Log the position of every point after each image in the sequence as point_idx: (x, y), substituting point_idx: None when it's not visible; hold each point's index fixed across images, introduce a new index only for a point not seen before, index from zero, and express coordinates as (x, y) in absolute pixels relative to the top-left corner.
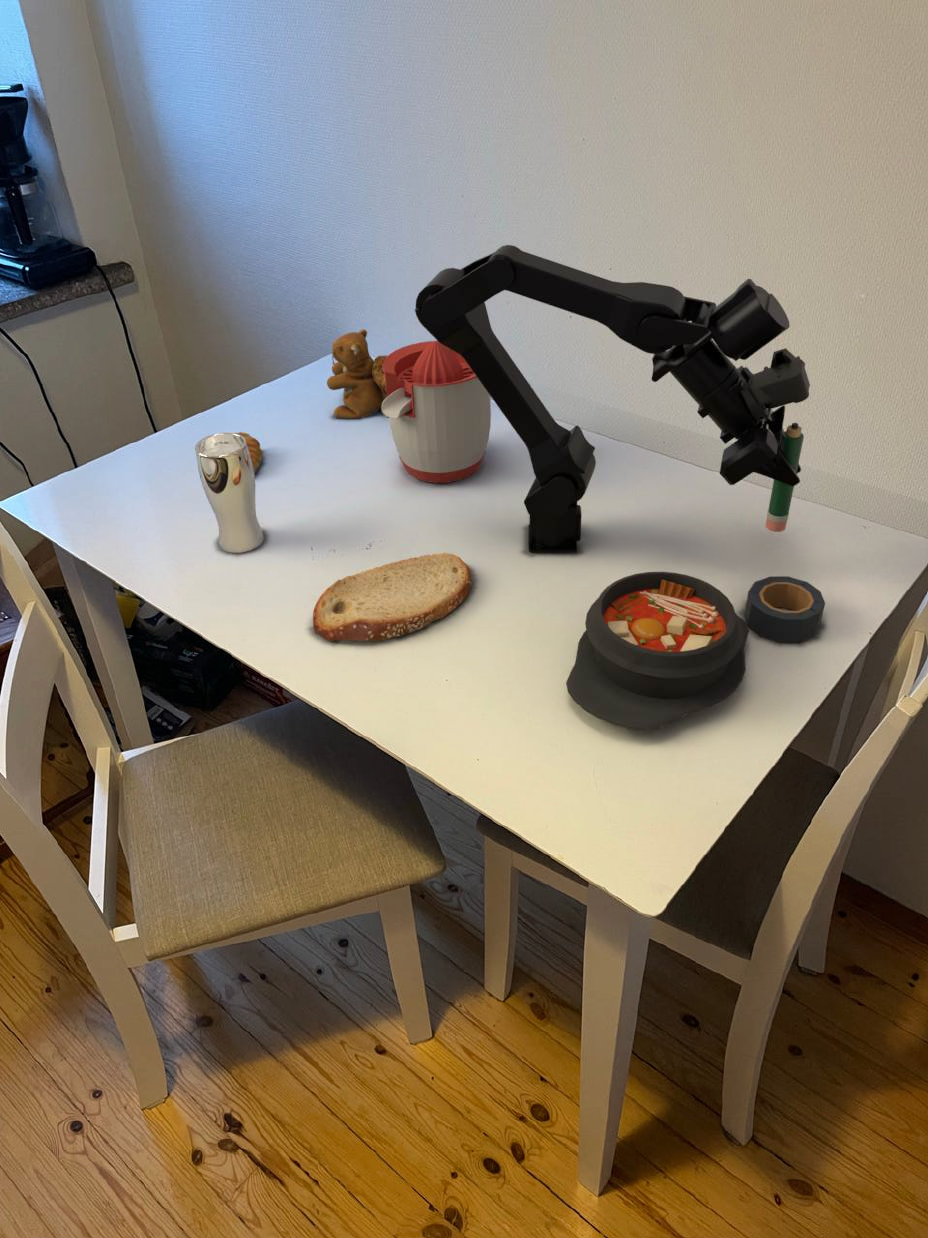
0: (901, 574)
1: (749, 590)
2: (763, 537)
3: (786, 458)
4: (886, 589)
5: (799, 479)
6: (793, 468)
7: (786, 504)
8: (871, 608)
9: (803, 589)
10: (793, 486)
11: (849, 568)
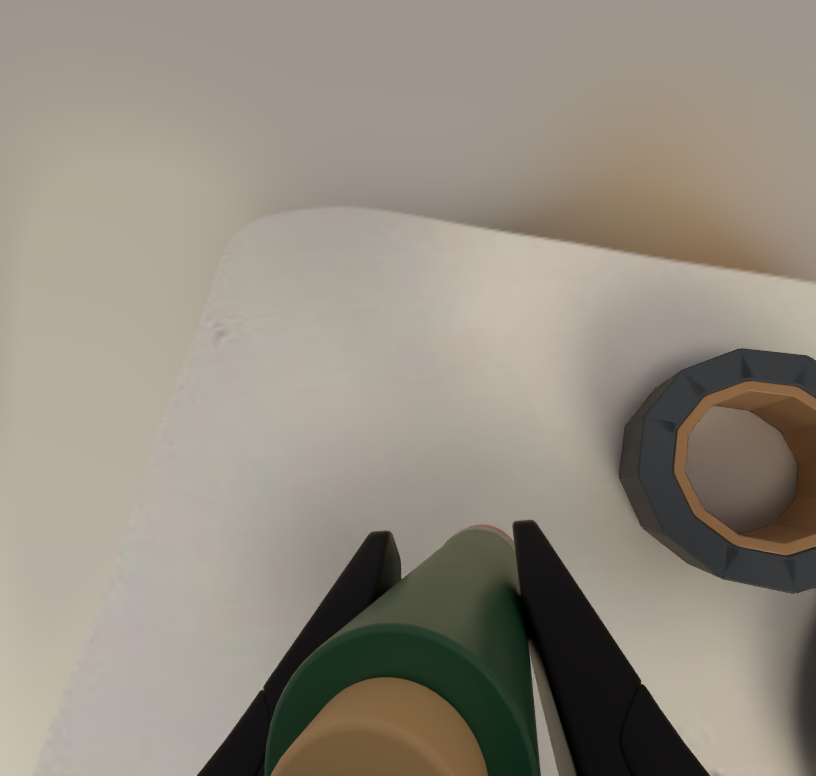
0: (394, 228)
1: (786, 590)
2: (333, 573)
3: (588, 707)
4: (469, 248)
5: (525, 526)
6: (529, 594)
7: (509, 552)
8: (564, 266)
9: (694, 420)
10: (476, 546)
11: (408, 339)
